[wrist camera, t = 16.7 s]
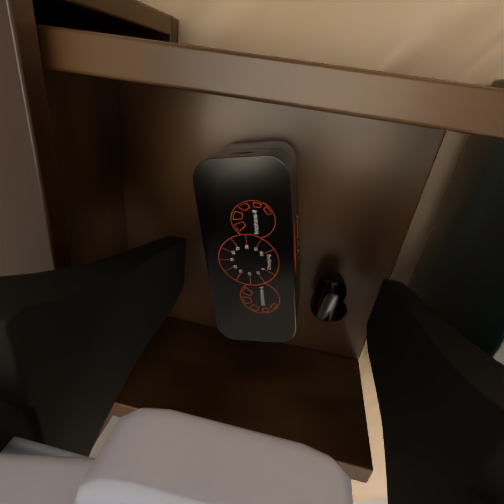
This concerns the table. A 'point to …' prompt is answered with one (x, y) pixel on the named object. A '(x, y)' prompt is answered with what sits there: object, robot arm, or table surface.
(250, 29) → the table surface
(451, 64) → the table surface
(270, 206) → the wireless earbuds
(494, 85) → the drawer
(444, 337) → the robot arm
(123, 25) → the cabinet
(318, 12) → the table surface
